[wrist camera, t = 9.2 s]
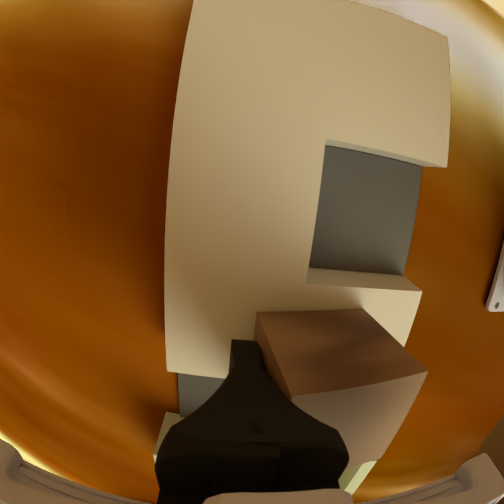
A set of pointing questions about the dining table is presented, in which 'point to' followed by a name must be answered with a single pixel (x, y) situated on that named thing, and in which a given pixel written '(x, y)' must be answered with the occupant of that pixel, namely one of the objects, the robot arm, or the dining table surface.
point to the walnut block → (341, 373)
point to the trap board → (294, 175)
